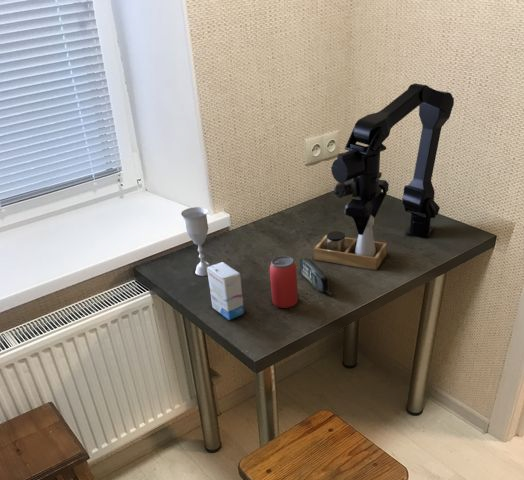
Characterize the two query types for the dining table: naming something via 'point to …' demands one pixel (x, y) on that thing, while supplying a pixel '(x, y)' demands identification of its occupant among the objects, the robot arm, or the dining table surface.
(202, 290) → the dining table surface
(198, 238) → the chalice
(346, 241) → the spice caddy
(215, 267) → the ink box
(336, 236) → the cylinder
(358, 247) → the salt shaker
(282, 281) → the beer can
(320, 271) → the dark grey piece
